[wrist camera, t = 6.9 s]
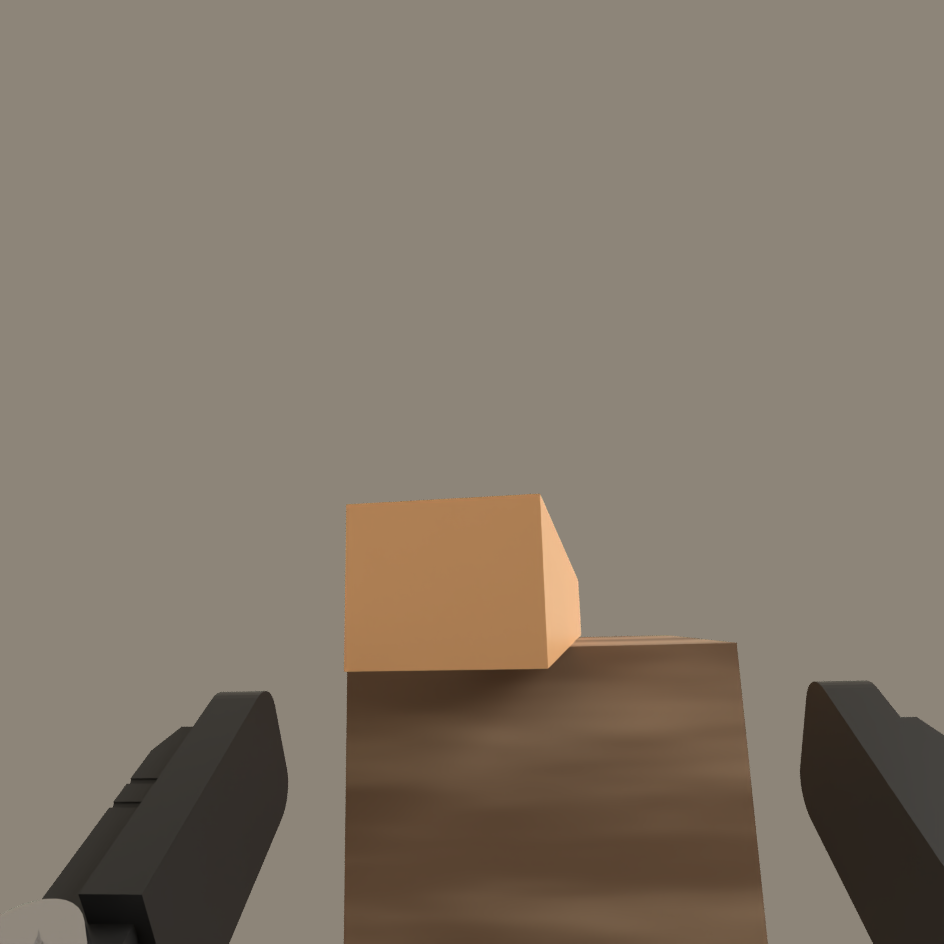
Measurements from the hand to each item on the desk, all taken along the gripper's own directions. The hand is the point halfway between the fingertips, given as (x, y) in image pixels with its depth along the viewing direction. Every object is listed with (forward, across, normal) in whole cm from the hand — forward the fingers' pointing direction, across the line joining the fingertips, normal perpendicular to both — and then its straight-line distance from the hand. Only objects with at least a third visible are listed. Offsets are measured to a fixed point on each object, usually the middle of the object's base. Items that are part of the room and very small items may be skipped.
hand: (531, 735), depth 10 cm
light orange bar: (+14, 0, +7) cm, 15 cm away
